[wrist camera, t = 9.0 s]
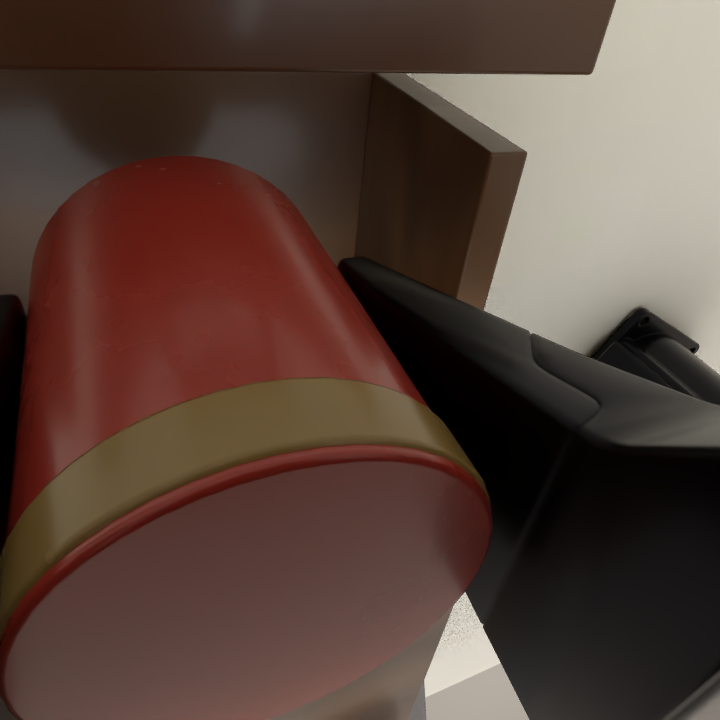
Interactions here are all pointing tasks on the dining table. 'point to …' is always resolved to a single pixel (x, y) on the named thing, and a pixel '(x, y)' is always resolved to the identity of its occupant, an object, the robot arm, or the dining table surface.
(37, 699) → the tin
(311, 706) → the cabinet
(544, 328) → the dining table surface
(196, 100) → the drawer
